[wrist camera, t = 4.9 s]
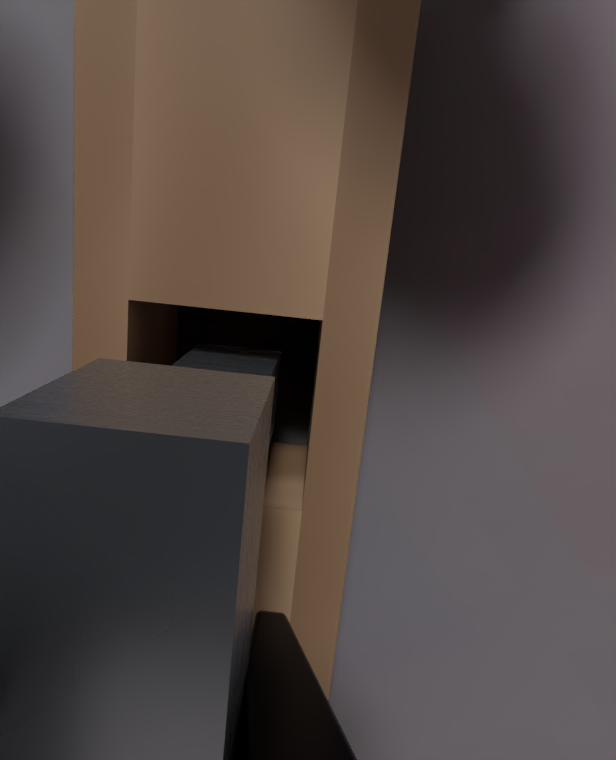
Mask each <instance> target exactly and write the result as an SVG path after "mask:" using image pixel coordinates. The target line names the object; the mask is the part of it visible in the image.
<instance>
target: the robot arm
mask: <svg viewBox="0 0 616 760" xmlns="http://www.w3.org/2000/svg"><path fill="white" fill-rule="evenodd" d="M238 760H357V759H356V757H355V755H354V753H353V751H352V749H351V746H350V744H349V742H348V740H347V738H346V736H345V734H344V732H343V730H342V728H341V726H340V724H339V722H338V720H337V718H336V716H335V714H334V712H333V710H332V708H331V706H330V704H329V702H328V700H327V698H326V696H325V694H324V692H323V690H322V688H321V686H320V684H319V682H318V680H317V678H316V675H315V673H314V671H313V669H312V667H311V665H310V663H309V661H308V659H307V657H306V655H305V653H304V651H303V649H302V647H301V645H300V643H299V641H298V639H297V637H296V635H295V633H294V631H293V629H292V627H291V625H290V623H289V621H288V619H287V617H286V615H285V614H284V613H281V612H272V611H262V610H261V611H258V612H257V613H256V616H255V620H254V625H253V629H252V634H251V644H250V655H249V665H248V670H247V675H246V681H245V688H244V699H243V710H242V720H241V731H240V742H239V753H238Z"/></svg>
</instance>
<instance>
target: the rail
mask: <svg viewBox="0 0 616 760" xmlns="http://www.w3.org/2000/svg"><path fill="white" fill-rule="evenodd" d="M420 7H421V0H75V36H74V196H73V355H72V371H74V370H76V369H78V368H80V367H82V366H84V365H86V364H88V363H90V362H92V361H94V360H96V359H98V358H104V359H113V360H122V361H131V362H141V363H150V364H159V365H169V366H171V365H172V364H174V363H175V362H176V346H177V326H178V306H179V305H183V306H192V307H201V308H211V309H220V310H230V311H239V312H249V313H258V314H268V315H277V316H287V317H296V318H306V319H315V320H321V321H320V330H319V339H318V348H317V358H316V367H315V376H314V385H313V395H312V404H311V413H310V422H309V432H308V441H307V445H297V444H288V443H279V442H270V444H269V449H268V460H267V471H266V482H265V493H264V503H263V514H262V525H261V536H260V547H259V558H258V568H257V579H256V590H255V601H254V612H253V623H252V629H253V625H254V620H255V616H256V613H257V612H258V611H261V610H262V611H272V612H281V613H284V614H285V615H286V617H287V619H288V621H289V623H290V625H291V627H292V629H293V631H294V633H295V635H296V637H297V639H298V641H299V643H300V645H301V647H302V649H303V651H304V653H305V655H306V657H307V659H308V661H309V663H310V665H311V667H312V669H313V671H314V673H315V675H316V678H317V680H318V682H319V684H320V686H321V688H322V690H323V692H324V694H325V696H326V698H327V700H328V702H329V695H330V688H331V680H332V673H333V665H334V657H335V650H336V642H337V635H338V627H339V620H340V612H341V605H342V597H343V589H344V582H345V574H346V567H347V559H348V552H349V544H350V536H351V529H352V521H353V514H354V506H355V499H356V491H357V483H358V476H359V468H360V461H361V453H362V446H363V438H364V431H365V423H366V415H367V408H368V400H369V393H370V385H371V378H372V370H373V362H374V355H375V347H376V340H377V332H378V325H379V317H380V309H381V302H382V294H383V287H384V279H385V272H386V264H387V257H388V249H389V241H390V234H391V226H392V219H393V211H394V204H395V196H396V188H397V181H398V173H399V166H400V158H401V151H402V143H403V135H404V128H405V120H406V113H407V105H408V98H409V90H410V83H411V75H412V67H413V60H414V52H415V45H416V37H417V30H418V22H419V14H420ZM251 634H252V633H251Z"/></svg>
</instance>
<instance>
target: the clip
mask: <svg viewBox="0 0 616 760" xmlns="http://www.w3.org/2000/svg"><path fill="white" fill-rule="evenodd" d="M280 359H281V352H280V351H271V350H261V349H252V348H243V347H234V346H224V345H215V344H206V343H200V344H198V345H197V346H196V347H194V348H193V349H192V350H190V351H189V352H188V353H187V354H185V355H184V356H183V357H181V358H180V359H179V360H178V361H176V362H175V363H174V364H172V365H171V366H169V365H159V364H150V363H141V362H131V361H122V360H113V359H104V358H98V359H96V360H94V361H92V362H90V363H88V364H86V365H84V366H82V367H80V368H78V369H76V370H74V371H72V372H70V373H68V374H66V375H64V376H62V377H60V378H58V379H56V380H54V381H52V382H50V383H48V384H46V385H44V386H42V387H40V388H38V389H36V390H34V391H32V392H30V393H28V394H26V395H24V396H22V397H20V398H18V399H16V400H14V401H12V402H10V403H8V404H6V405H4V406H2V407H0V760H238V753H239V742H240V731H241V720H242V710H243V699H244V688H245V681H246V675H247V670H248V665H249V655H250V644H251V633H252V623H253V612H254V601H255V590H256V579H257V568H258V558H259V547H260V536H261V525H262V514H263V503H264V493H265V482H266V471H267V460H268V449H269V444H270V441H271V437H272V434H273V430H274V423H275V412H276V401H277V391H278V380H279V369H280Z"/></svg>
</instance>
